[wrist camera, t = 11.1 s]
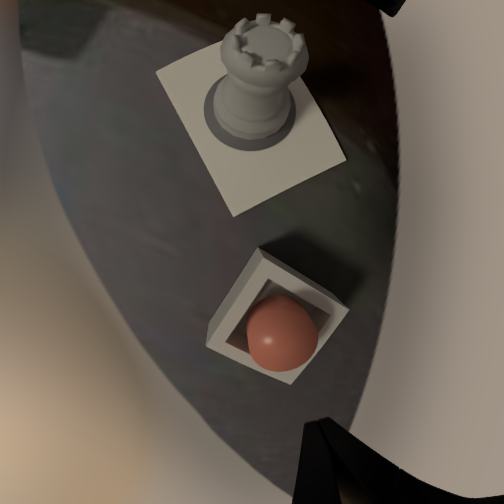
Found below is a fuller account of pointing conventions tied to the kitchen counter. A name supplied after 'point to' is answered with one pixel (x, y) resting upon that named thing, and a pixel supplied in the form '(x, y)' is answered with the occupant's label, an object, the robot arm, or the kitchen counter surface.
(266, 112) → the rook chess piece
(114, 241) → the kitchen counter surface
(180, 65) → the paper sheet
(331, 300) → the button housing
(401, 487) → the robot arm
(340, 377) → the kitchen counter surface
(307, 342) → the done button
